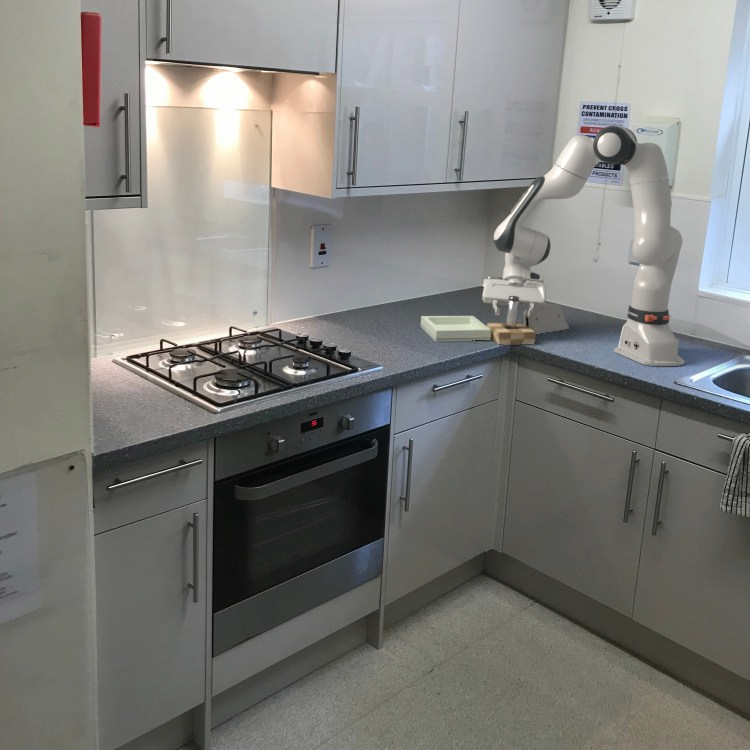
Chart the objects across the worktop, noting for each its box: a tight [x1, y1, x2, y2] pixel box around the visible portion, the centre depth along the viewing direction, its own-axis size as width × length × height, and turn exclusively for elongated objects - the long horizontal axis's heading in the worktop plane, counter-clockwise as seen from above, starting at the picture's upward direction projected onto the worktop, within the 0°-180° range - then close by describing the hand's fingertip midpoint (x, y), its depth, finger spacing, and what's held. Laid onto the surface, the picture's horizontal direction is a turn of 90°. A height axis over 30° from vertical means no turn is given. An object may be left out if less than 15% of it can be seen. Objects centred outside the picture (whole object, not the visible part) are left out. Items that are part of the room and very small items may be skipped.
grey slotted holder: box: [523, 302, 570, 333], centre depth 300 cm, size 17×5×10 cm, turn 125°
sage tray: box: [420, 315, 491, 342], centre depth 290 cm, size 18×18×4 cm
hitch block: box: [486, 321, 536, 346], centre depth 286 cm, size 12×12×4 cm
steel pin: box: [506, 296, 519, 329], centre depth 285 cm, size 3×3×14 cm
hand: (512, 315), depth 284 cm, fingers open, 8 cm apart
